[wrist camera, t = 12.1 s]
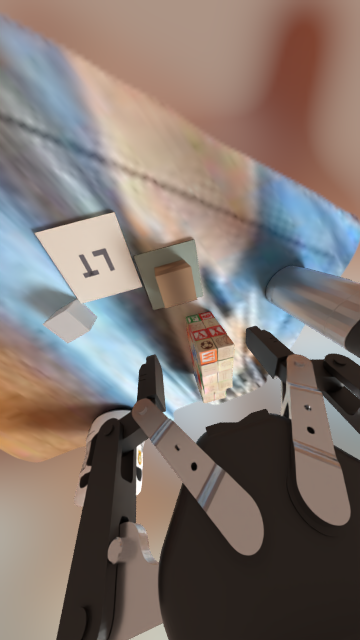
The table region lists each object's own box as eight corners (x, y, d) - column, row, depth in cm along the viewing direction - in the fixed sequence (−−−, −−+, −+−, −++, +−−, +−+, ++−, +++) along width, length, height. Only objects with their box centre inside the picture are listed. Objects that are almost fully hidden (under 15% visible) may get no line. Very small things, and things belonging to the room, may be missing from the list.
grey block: (78, 297, 29) (66, 310, 25) (97, 316, 32) (89, 330, 27) (57, 310, 30) (42, 324, 25) (78, 328, 32) (67, 343, 28)
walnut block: (183, 259, 28) (191, 266, 23) (189, 287, 31) (197, 299, 26) (154, 267, 28) (155, 276, 23) (162, 295, 31) (165, 308, 26)
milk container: (152, 422, 57) (153, 493, 42) (106, 435, 56) (90, 512, 41) (137, 397, 48) (131, 477, 33) (81, 412, 47) (50, 501, 32)
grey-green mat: (193, 239, 27) (194, 239, 27) (202, 295, 33) (203, 296, 33) (134, 255, 27) (133, 256, 26) (153, 308, 33) (153, 310, 32)
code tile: (114, 212, 23) (113, 212, 23) (142, 285, 30) (142, 286, 29) (37, 232, 23) (34, 233, 22) (82, 302, 29) (81, 303, 29)
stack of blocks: (213, 369, 47) (231, 409, 37) (193, 374, 47) (206, 416, 37) (210, 310, 36) (235, 344, 25) (184, 316, 35) (199, 353, 25)
